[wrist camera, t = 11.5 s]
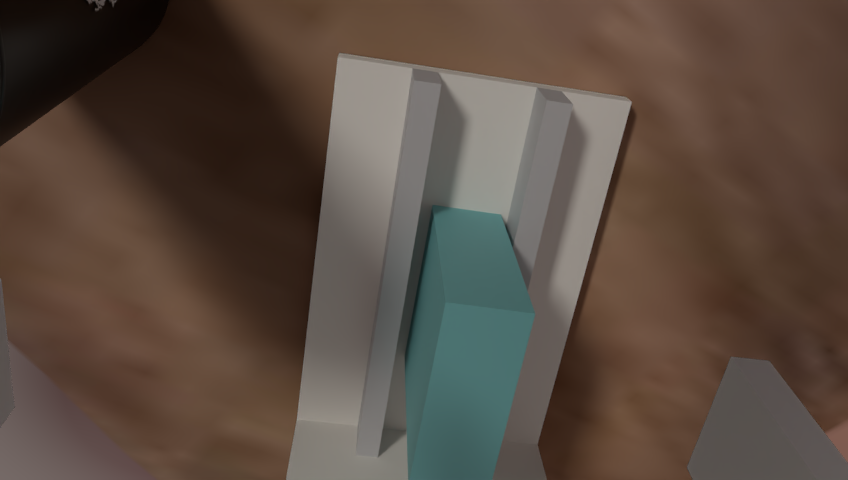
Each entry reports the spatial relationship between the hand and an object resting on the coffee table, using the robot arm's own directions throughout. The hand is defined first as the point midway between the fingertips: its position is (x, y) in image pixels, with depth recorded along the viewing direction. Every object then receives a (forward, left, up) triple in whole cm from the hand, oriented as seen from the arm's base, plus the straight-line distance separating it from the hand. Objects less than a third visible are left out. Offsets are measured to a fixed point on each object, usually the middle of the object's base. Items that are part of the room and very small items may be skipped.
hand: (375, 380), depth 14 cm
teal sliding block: (+10, +5, -23) cm, 26 cm away
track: (+10, +5, -24) cm, 27 cm away
